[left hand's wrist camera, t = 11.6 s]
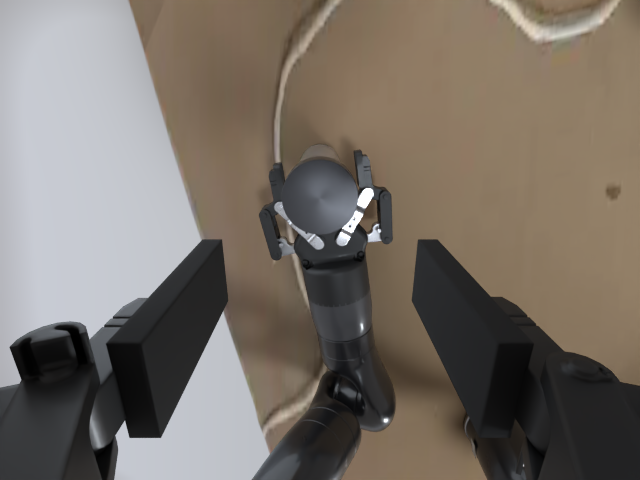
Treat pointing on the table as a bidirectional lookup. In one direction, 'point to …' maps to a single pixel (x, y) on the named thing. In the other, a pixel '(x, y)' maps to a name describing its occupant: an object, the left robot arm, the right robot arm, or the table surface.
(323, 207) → the lid
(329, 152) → the bottle
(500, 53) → the table surface
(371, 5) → the table surface
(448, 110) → the table surface
